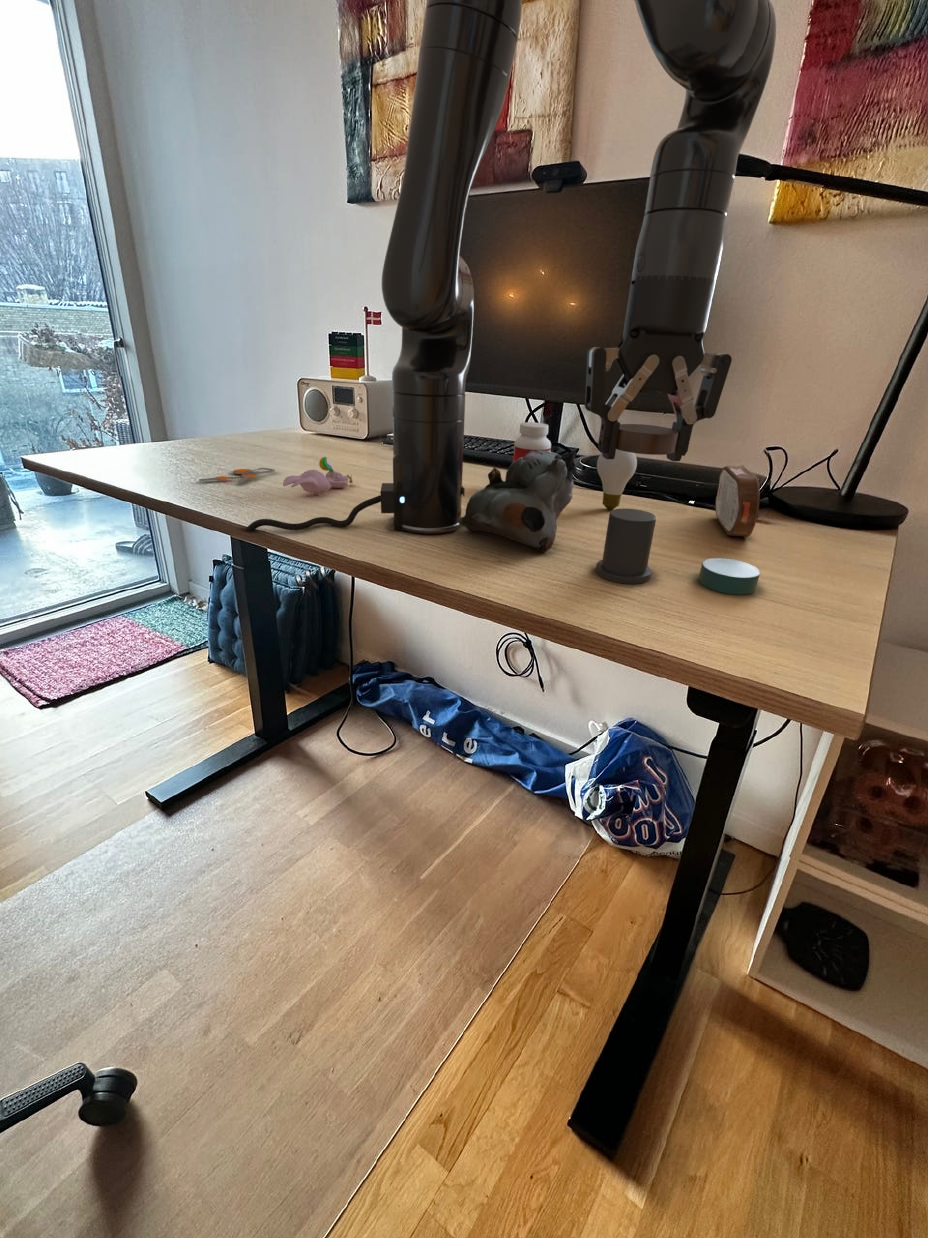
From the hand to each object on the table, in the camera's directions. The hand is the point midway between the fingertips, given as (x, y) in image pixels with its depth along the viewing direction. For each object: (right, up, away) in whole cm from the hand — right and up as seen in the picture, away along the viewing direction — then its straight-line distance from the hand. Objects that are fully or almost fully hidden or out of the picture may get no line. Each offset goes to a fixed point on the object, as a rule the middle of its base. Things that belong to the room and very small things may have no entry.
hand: (640, 458), depth 61 cm
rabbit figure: (-42, +3, +33) cm, 53 cm away
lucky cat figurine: (-12, -7, +16) cm, 21 cm away
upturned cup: (0, -12, +6) cm, 13 cm away
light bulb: (+5, 0, +31) cm, 31 cm away
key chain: (-58, +8, +40) cm, 71 cm away
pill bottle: (-7, +5, +39) cm, 41 cm away
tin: (+20, -4, +24) cm, 32 cm away
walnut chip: (0, +1, 0) cm, 1 cm away
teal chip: (+11, -13, +4) cm, 17 cm away
